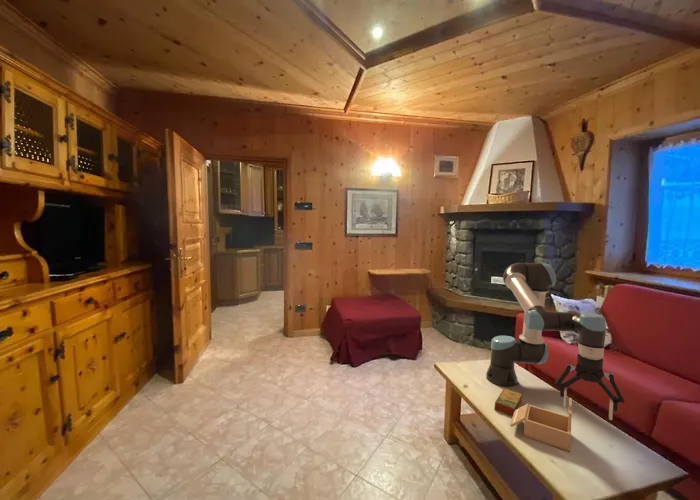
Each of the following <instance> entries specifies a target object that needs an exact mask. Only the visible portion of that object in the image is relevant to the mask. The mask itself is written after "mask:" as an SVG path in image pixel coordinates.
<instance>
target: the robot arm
mask: <svg viewBox="0 0 700 500" xmlns="http://www.w3.org/2000/svg"><path fill="white" fill-rule="evenodd" d="M502 275H503V276H502V280H503V283H504V285H505V286H506V288H507V289H509V290H511V291H512V294H513V295H514V297H515V299H516V300H517V302H518V303H519V305H520V307H521V308H522V309H523V311H524V313H523V323H522V325H523V326H522V333H521V334H519V336H518V339H516V338H514V337H513V336H511V335H510V336H509V335H497V336H494V337H493V338H491V344H490V364H489V366H488V368H487V371H486V374H485V377H486V380H488V381H489V382H491V383H493V384H495V385H498V386H502V387H515V386H516V385H518V376H517V372H516V369H515V363H518V364H532V365H542V364H545V363H546V362H547V360H548V359H549V350H548V349H549V348H548V344H547V343H546V342H545V340H544V338H543V337H542V333H543V331H550V332H551V331H553V332H554V331H557V332H569V333H570V332H571V333H574V334H577V336H578V343H577V357H576V358H577V359H576V365H572V364H571V363H567V364H566V366H565V367H566V368H565V369H564V371H562V373H561V374H560V376H559V377H558V378H557V379H556V381H555V386H556V387H558V388H560V397H561V398H563V406H562V407H564V408H566V406H567V394H568V393H567V391H568V387H570V386H571V385H573V384H575V383H576V382H577V381H580V380H583V381H585V382H591V383H593V384H595V383H597V384H598V386H600V387H601V388H602V390H603V391H604V392H605V393H606V394H607V396H608V397H609V405H608V406H609V408H608V420H610V421H613V412H617V411H618V404H619V403H622V404H624V403H625V402H626V401H625V398H624V396H623V394H622V393H621V390H620V389H619V387H618V385H617V382H616V381H615V376H614V373H613V372H612V371H610V372H604V370H603V369H604V359H603V358H604V355H605V342H606V341H605V340H606V329H607V327H606V326H607V325H606V317H604V315H602V314H597V313H593V312H583V313H581V312H578V311H576V310H571V309H568V310H567V309H566V310H563V311H549V310H547V309H546V308H545V304H546V295H547V294H548V293H549V292H550V289H551V287H552V288H553V287H555V285H556V283H557V275H556V271H555V269H554V268H553V266H552V265H551V264H549V263H542V262H515V263H512V264H510V265H509V266H507V267H506V268H505V270H504V272H503V274H502ZM573 370H575V372H576V373H575V374H574V375H572V377H570V378H568V379H567V380H565V379H566V378H567V377H568V375H569V374H570V372H572V371H573ZM604 377H605V378H606V379H607V380H609V382H610V384H611V386H612V388H613V390H614V392H615V394H616V395H615V394H614V393H613V392H612V391H611V389H610V388H609V386H607V385H606V383H605V382H604V381H603V378H604ZM564 380H565V381H564Z"/></svg>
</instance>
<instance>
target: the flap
mask: <svg viewBox="0 0 700 500" xmlns="http://www.w3.org/2000/svg"><path fill="white" fill-rule="evenodd" d="M572 399H573V398H572V397H569V398H568V415H567V416H568V431H569V432H572V416H573V412H572V411H573V400H572Z"/></svg>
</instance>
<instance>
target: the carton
mask: <svg viewBox="0 0 700 500" xmlns="http://www.w3.org/2000/svg"><path fill="white" fill-rule="evenodd" d="M522 402H523V394H522V393H520V392H518V391H514V390H511V389H507V388H503V390H502V391H501V393H500V394H499V396H498V397H497V399H496V400H495V403H494V409H493V410H494V411H496V412H500V413H503V414H505V415H508V416H511V417H513V414H514V411H515V410H516V409H518V408H520V407H521V404H522Z"/></svg>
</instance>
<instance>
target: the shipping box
mask: <svg viewBox="0 0 700 500" xmlns="http://www.w3.org/2000/svg"><path fill="white" fill-rule="evenodd" d="M522 422H524V427H523V437H524V438H527V439H529V440H531V441H532V440H533V441H535V442H538V443H541V444H544V445H547V446H550V447H553V448H554V449H558V450H561V451H564V452H566V453H570V452H571V451H570V450H571V437H572V433H571V432H572V431H571V432H569V431H568V415H565V414H561V413H558V412H555V411H552V410H548V409H545V408H542V407H539V406H534V405H532V404H529V403H526V404H525V405H522V406H519V408H518V409H516V410H515V411H514V414H513V416H511V420H510V423H509V426H510V428H512V427H514V426H517V425H519V424H521V423H522Z"/></svg>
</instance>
